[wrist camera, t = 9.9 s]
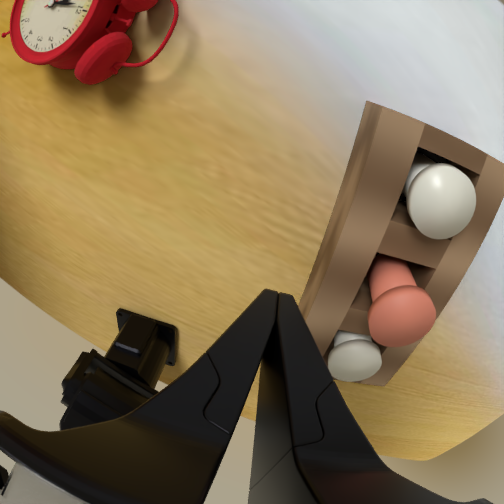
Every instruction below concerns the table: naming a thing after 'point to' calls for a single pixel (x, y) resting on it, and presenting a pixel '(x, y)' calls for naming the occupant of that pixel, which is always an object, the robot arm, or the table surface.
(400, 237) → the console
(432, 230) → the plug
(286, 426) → the robot arm
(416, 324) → the red plug
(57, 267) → the table surface
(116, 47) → the alarm clock
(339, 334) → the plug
